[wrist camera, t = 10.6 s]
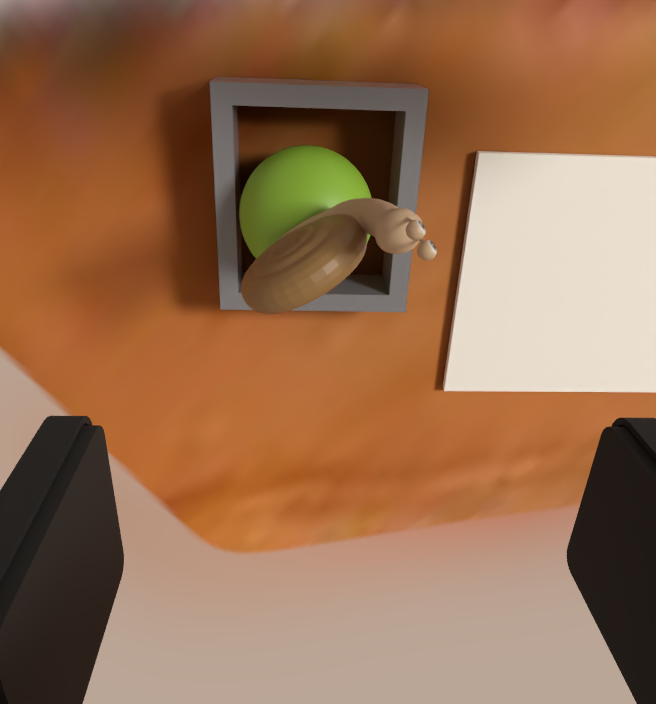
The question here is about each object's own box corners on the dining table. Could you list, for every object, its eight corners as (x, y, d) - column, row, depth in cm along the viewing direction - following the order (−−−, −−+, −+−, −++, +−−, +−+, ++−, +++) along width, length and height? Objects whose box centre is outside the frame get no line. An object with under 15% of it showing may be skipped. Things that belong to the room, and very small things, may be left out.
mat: (476, 150, 27) (479, 152, 27) (740, 159, 28) (746, 160, 27) (442, 386, 33) (444, 390, 32) (662, 388, 33) (666, 392, 33)
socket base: (204, -212, 21) (104, -479, 10) (444, -196, 21) (608, -433, 10) (225, 288, 29) (185, 449, 18) (397, 290, 30) (459, 449, 19)
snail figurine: (407, 205, 28) (476, 317, 17) (287, 277, 29) (284, 421, 19) (345, 95, 26) (382, 146, 15) (219, 179, 27) (171, 279, 16)
